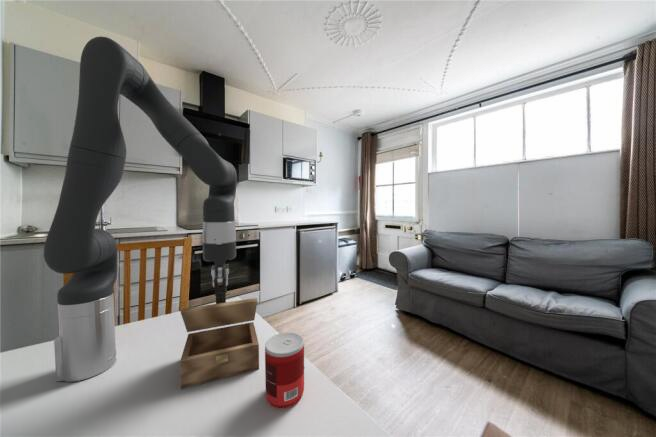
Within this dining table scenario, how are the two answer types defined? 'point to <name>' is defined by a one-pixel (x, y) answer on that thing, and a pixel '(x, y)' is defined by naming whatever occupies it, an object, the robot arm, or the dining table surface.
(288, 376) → the canned food
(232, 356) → the box
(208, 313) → the lid
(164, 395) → the dining table surface
